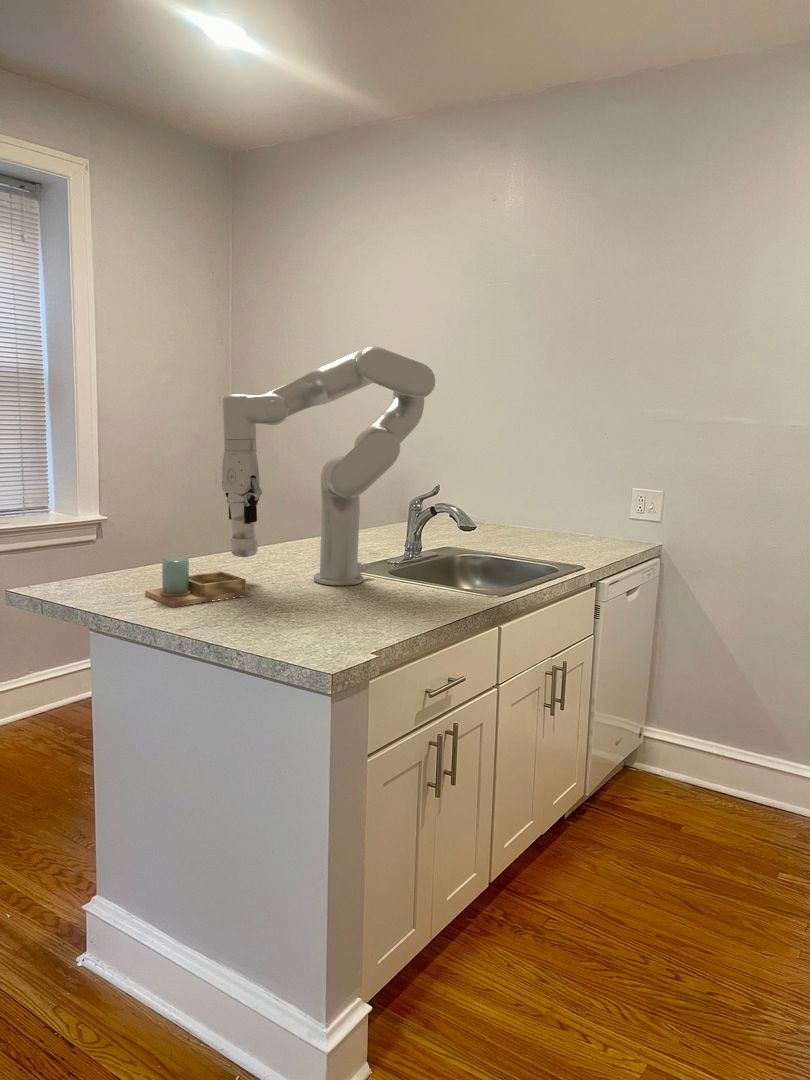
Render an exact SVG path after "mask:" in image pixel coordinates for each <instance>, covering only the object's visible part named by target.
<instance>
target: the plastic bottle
mask: <svg viewBox="0 0 810 1080" xmlns="http://www.w3.org/2000/svg"><path fill="white" fill-rule="evenodd" d="M247 493H251V491H248V492H247ZM248 497H249V499H250V497H251V496H248ZM228 500H229V503H228V507H229V506H230V511H231V519H232V520H231V538H230V544H229V548H230V553H231V554H232V555H233V557H238V558H250V557H252V556H253V557H254V556H256V554H257V553H258V549H259V548H258V547H259V546H258V539H257V536H256V528H255V522H251V523H245V521H244V506H246V504H245V500H244V496H243V495H237V494H235V493H229V496H228Z"/></svg>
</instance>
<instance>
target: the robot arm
mask: <svg viewBox="0 0 810 1080" xmlns="http://www.w3.org/2000/svg"><path fill="white" fill-rule="evenodd" d="M371 384H376V385H378V386H381V387H382V388H385V389H388V390H390V391H393V395H392V400H391V402H390V404H389V405H388V406H387V408H386V409H385V410H384V411H383V412H382V413H381V414H380V415H379V416H378V417H377V418H376V419H374V421H372V423H370V424H369V425H368V426H367V427H366V428H364V429H363V430H362V431H361V432H360V433H359V434H358V435H357V437H356V438H355V441H354V447H353V448H352V449H351V450H350V451H349V452H348V453H346V455H338V456H334V457H332V458H330V459H328V460H327V461H326V462H325V464H324V465H323V467H322V469H321V474H320V491H321V493H320V494H321V515H320V516H321V519H320V525H321V526H320V550H319V552H320V554H319V555H320V556H319V572H317V573H315V574H314V575H313V581H314V582H316V583H318V584H322V585H329V586H341V587H342V586H355V585H359V584H361V583H363V581H364V576H363V575H362V574H361V573H363V572H367V571H368V572H369V571H371V570H372V563H370V562H367V563H361V562H359V560H358V559H359V558H358V557H359V532H360V496H361V495H362V494H363V493H365V492H366V491H367V490H368V489H369V488H371V486H372V485H373V484H374V483H376V482H377V481H378V480H379V479H380V478H381V477H382V476H383V475H384V474H385V473H386V472H387V471H388V470H389V469H390V468H391V467H392V466H393V465H394V464H395V462H397V460H398V457H400V456H399V455H400V452H401V443H402V442H403V441H404V440H406V438H407V437H408V436H409V435H410V434H411V433H412V431H414V430H415V428H416V427H417V426H418V425H419V423H420V421H421V419H422V417H423V414H424V408H425V398H427V397H428V396H429V395H430V394H432V392H433V391H434V389H435V386H436V375H435V374H434V372H433V370H432V369H431V368H430V366H428V365H427V364H424V363H422V362H419V361H417V360H414V359H412V358H409V357H407V356H403V355H401V354H398V353H396V352H393V351H390V350H388V349H386V348H385V349H384V348H383V347H380V346H368V347H365V348H362V349H359V350H357V351H355V352H351V353H349V354H348V355H346V356H343V357H340V358H339V359H337V360H335V361H333V362H330V363H328V364H325V365H323V366H320V367H318V368H317V369H314V370H312V371H310V372H308V373H307V374H305V375H303V376H301V377H299V378H298V379H295V380H293V381H291V382H289V383H286V384H283V385H281V386H280V387H277V388H275V389H273V390H271V391H268V392H266V393H263V394H259V395H251V394H245V393H243V394H242V393H241V394H240V393H239V394H238V393H237V394H236V393H234V394H233V393H232V394H226V395H225V396H224V397H223V399H222V411H223V413H222V414H223V415H222V416H223V418H222V419H223V442H224V444H223V445H224V452H223V455H222V457H223V458H222V466H221V467H222V468H221V469H222V471H221V487H222V488H221V489H222V491H223V492H224V493H225V496H226V498H227V499H226V502H227V504H229V500H228V496H229V493H235V494H237V495H243V496H244V500H245V504H246V506H244V521H245V523H251V522H254V523H257V521H258V512H257V507H258V504H259V500H260V498H261V496H262V494H263V490H262V489H261V486H260V469H259V461H258V457H257V429H256V428H257V427H256V426H257V424H260V425H267V426H278V425H280V424H282V423H284V422H285V421H286V420H287V418H288V417H290V416H292V415H295V414H297V413H299V412H302V411H304V410H307V409H310V408H312V407H316V406H321V405H326V404H328V403H331V402H333V401H336V400H339V399H340V398H343V397H345V396H347V395H349V394H351V393H353V392H356V391H358V390H360V389H362V388H366V387H367V386H368V385H371ZM248 491H251V493H247V492H248ZM248 496H251V497H250V499H249V497H248ZM228 519H229V520H231V521H232V519H231V511H230V506H229V505H228Z"/></svg>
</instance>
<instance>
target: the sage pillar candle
mask: <svg viewBox="0 0 810 1080" xmlns="http://www.w3.org/2000/svg"><path fill="white" fill-rule="evenodd" d="M161 562H162V565H161V566H162V567H161V568H162V571H161V572H162V573H161V574H162V576H161V577H162V582H161V583H162V585H161V588H162V591H163V592H164V593H167V594H182V593H187V592H188V591H189V575H190V573H189V572H190V571H189V568H190V565H189V562H190V561H189V559H188V558H185V557H184V558H183V557H168V558H164V559H162V560H161Z"/></svg>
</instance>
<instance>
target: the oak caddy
mask: <svg viewBox="0 0 810 1080" xmlns="http://www.w3.org/2000/svg"><path fill="white" fill-rule="evenodd" d="M246 582H247V581H246V579H245V578H243V577H239V576H237V575H233V574H230V573H228V572H226V571H225V572H224V571H221V570H220V571H214V572H206V573H199V574H189V591H188V592H187V593H182V594H167V593H164V592H163V591H162V587H161V588H160V587H159V588H152V589H145V590H144V596H146V597H148V598H149V599H150V598H151V599H153V600H154V599H155V601H157V602H159V603H161V604H164V605H166V604H167V606H169V607H171V606H172V608H173V607H174V608H179V607H178V606H180V607H185V606H184V605H187V606H190V605H189V604H193V605H195V604H194V603H200V604H202V603H201V602H206V601H212V600H218V599H226V598H233V597H240V596H246V597H249V596H250V590H249V589H246V588H247V587H246V585H247V584H246ZM248 595H249V596H248ZM240 598H241V597H240ZM233 599H234V598H233ZM226 600H227V599H226Z"/></svg>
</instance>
